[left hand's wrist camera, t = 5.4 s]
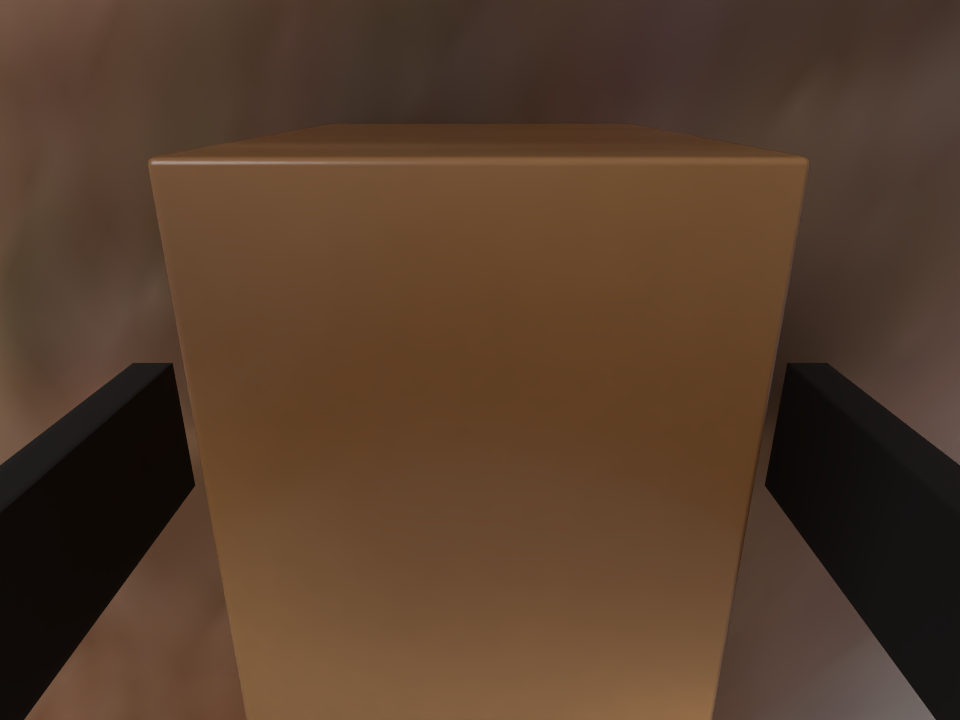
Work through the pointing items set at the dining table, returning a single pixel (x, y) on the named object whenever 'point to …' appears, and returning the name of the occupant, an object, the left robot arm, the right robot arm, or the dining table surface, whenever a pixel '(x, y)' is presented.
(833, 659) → the dining table surface
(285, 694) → the beam
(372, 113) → the dining table surface
